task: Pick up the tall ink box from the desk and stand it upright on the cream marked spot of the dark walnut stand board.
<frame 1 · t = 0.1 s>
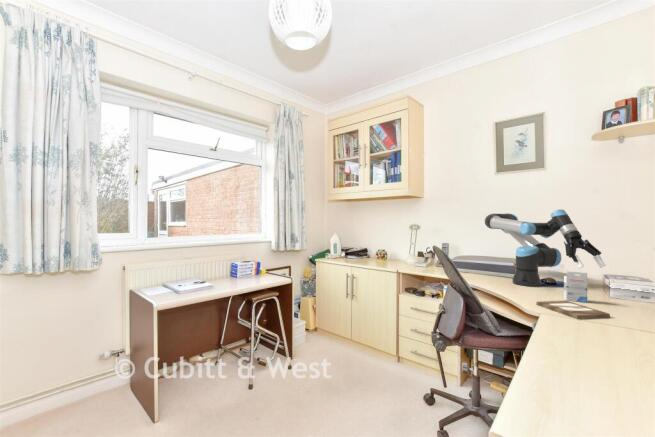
hand: (592, 267, 161), 15 cm above the table, tool tilted 35°, fingers open, 13 cm apart
stand board: (570, 310, 135), on the table
ink box: (575, 300, 151), on the table
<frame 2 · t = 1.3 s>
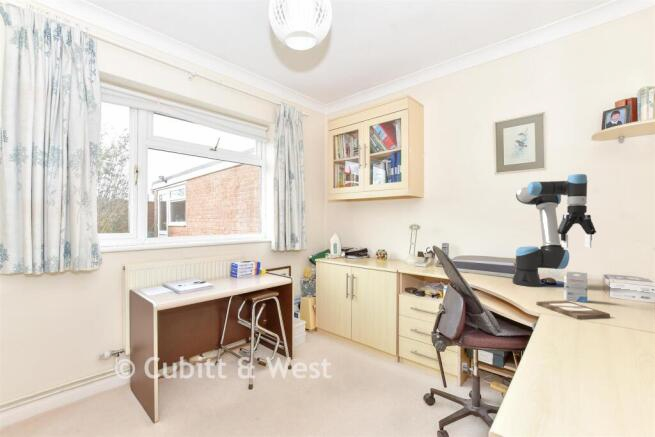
hand: (576, 247, 151), 27 cm above the table, tool pointing down, fingers open, 13 cm apart
nothing on the table moved.
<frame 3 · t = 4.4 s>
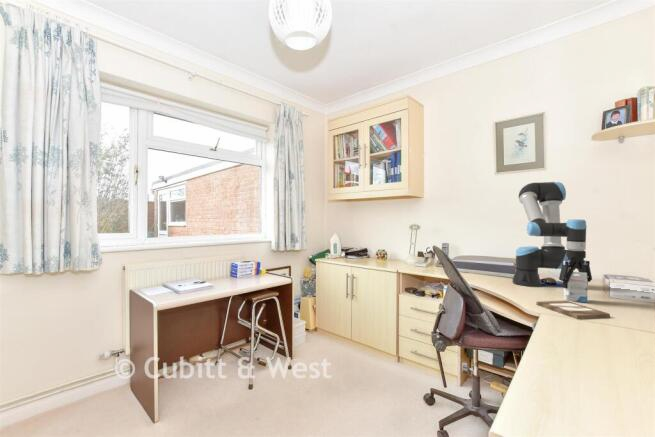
hand: (575, 294, 151), 3 cm above the table, tool pointing down, fingers closed on ink box, 9 cm apart
ink box: (575, 300, 151), on the table, touching gripper
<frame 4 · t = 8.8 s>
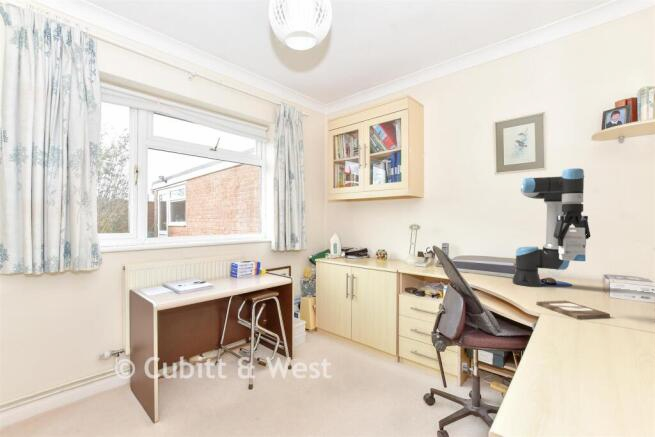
hand: (571, 253, 135), 26 cm above the table, tool pointing down, fingers closed on ink box, 9 cm apart
ink box: (571, 260, 135), point 22 cm above the table, touching gripper
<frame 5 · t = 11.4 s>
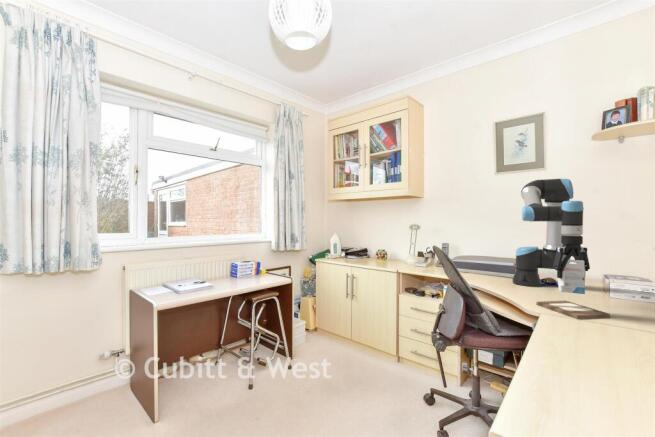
hand: (571, 285, 135), 11 cm above the table, tool pointing down, fingers closed on ink box, 9 cm apart
ink box: (571, 292, 135), point 8 cm above the table, touching gripper
when the fingers open (6 cm above the table, at t = 13.5 s): ink box drops 1 cm, resting on stand board.
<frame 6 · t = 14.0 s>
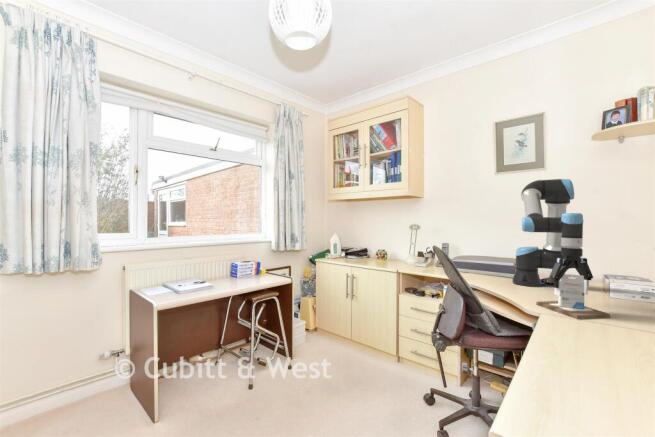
hand: (570, 294, 135), 7 cm above the table, tool pointing down, fingers open, 13 cm apart
ink box: (570, 307, 135), point 2 cm above the table, touching stand board
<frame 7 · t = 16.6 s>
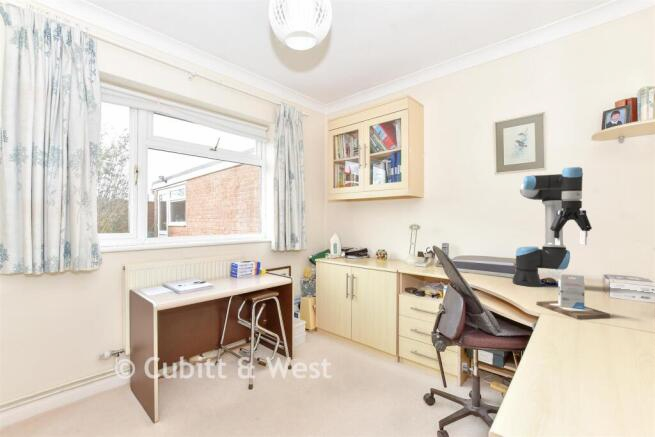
hand: (570, 244, 143), 29 cm above the table, tool pointing down, fingers open, 13 cm apart
nothing on the table moved.
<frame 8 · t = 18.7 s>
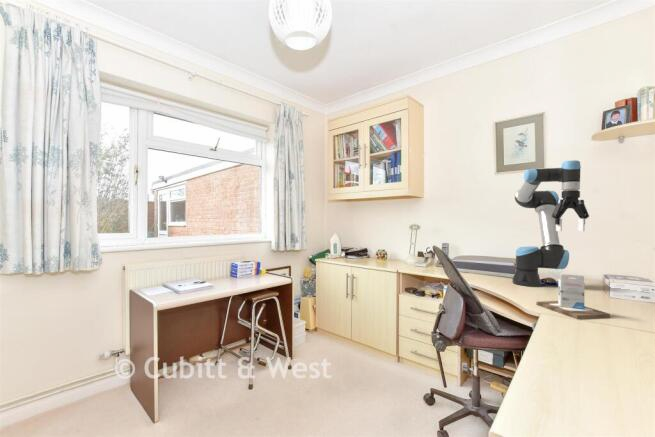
hand: (570, 231, 157), 35 cm above the table, tool pointing down, fingers open, 13 cm apart
nothing on the table moved.
at the end: ink box inside the target area on the stand board (0.0 cm from its centre), point 1.5 cm above the stand board's base; ink box tilted 0°; the gripper is holding nothing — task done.
